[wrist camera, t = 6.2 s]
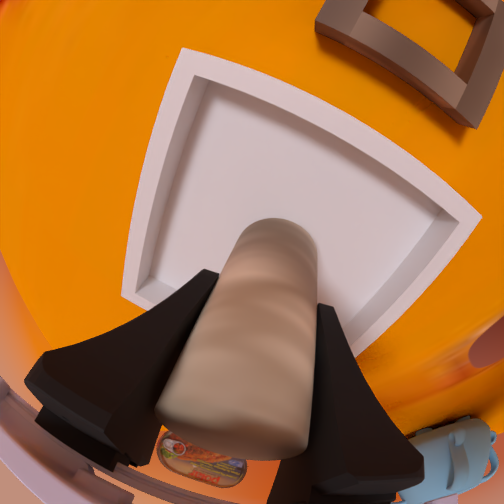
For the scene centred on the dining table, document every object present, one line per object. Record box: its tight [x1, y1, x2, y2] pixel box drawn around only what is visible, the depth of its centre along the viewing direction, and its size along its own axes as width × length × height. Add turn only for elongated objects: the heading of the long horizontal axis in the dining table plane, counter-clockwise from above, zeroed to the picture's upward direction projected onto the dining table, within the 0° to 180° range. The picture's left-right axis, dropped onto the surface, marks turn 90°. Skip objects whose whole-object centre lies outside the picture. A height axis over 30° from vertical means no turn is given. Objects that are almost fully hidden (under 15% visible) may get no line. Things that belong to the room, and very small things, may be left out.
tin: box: [157, 431, 247, 488], centre depth 33 cm, size 15×3×8 cm, turn 56°
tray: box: [121, 48, 482, 358], centre depth 14 cm, size 15×15×3 cm
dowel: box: [154, 218, 317, 461], centre depth 10 cm, size 4×4×9 cm
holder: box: [315, 0, 504, 129], centre depth 7 cm, size 8×8×2 cm
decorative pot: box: [391, 416, 499, 504], centre depth 21 cm, size 16×16×14 cm
